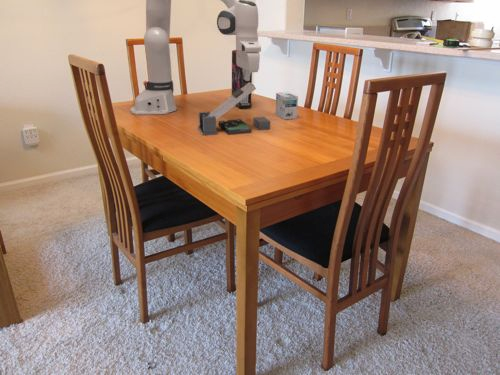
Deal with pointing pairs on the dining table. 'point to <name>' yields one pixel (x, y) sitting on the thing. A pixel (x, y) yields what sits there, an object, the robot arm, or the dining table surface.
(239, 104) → the graphics card box
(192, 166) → the dining table surface
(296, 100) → the light bulb box
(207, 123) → the strap bracket
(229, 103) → the bar
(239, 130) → the disk drive
